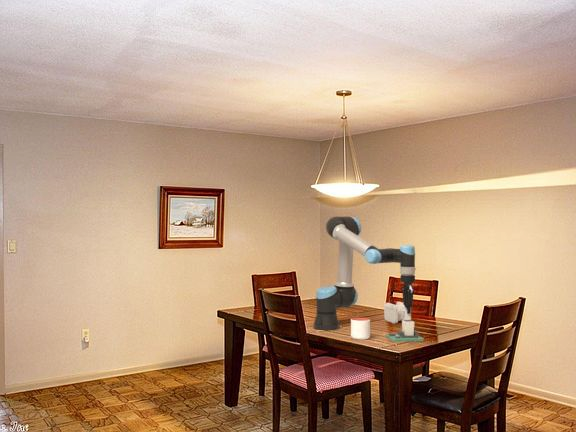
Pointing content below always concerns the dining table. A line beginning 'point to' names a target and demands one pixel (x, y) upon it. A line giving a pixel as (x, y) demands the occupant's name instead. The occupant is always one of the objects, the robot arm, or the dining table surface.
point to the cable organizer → (394, 312)
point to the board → (403, 337)
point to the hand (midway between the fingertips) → (407, 319)
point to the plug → (408, 327)
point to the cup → (360, 328)
